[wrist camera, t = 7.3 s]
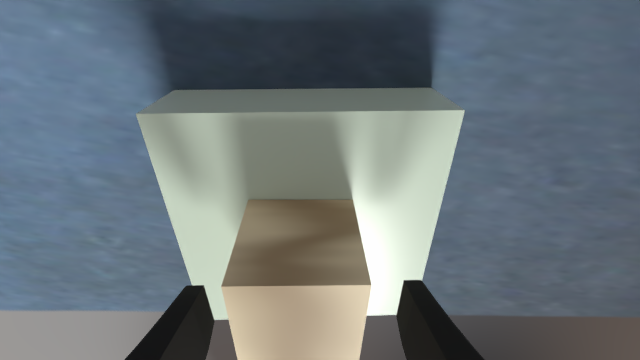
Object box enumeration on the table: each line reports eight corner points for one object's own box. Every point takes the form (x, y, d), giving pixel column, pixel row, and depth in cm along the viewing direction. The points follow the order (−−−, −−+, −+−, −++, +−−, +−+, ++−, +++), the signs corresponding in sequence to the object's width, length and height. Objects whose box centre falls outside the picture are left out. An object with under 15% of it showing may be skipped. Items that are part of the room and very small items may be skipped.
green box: (427, 85, 14) (464, 110, 11) (396, 262, 20) (413, 314, 17) (178, 87, 14) (135, 113, 11) (221, 266, 20) (203, 320, 17)
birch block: (352, 199, 13) (371, 285, 9) (346, 271, 15) (358, 364, 11) (248, 199, 13) (221, 286, 9) (257, 272, 15) (239, 366, 11)
